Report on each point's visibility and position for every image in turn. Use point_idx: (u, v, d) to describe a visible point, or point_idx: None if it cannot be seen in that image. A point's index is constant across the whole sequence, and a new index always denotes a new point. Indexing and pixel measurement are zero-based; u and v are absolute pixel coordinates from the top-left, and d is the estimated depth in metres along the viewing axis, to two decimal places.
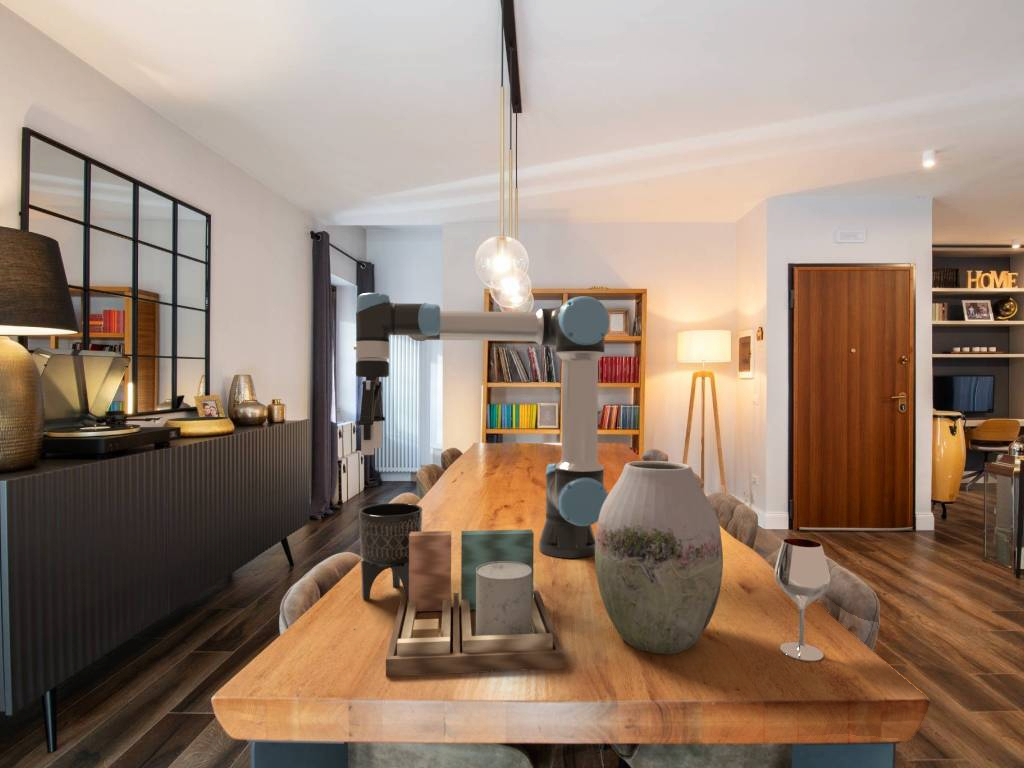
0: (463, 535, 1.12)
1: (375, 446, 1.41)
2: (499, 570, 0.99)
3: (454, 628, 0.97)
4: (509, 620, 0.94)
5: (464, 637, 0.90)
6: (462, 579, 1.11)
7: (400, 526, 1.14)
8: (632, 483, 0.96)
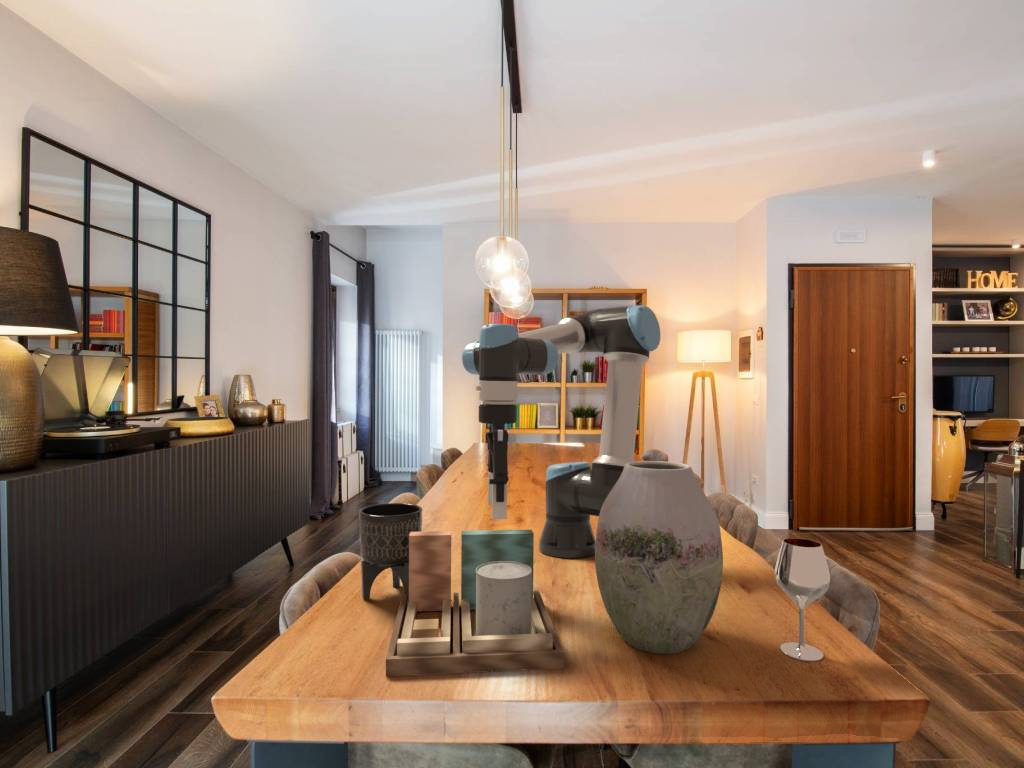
0: (463, 535, 1.12)
1: None
2: (499, 570, 0.99)
3: (454, 628, 0.97)
4: (509, 620, 0.94)
5: (464, 637, 0.90)
6: (462, 579, 1.11)
7: (400, 526, 1.14)
8: (632, 483, 0.96)
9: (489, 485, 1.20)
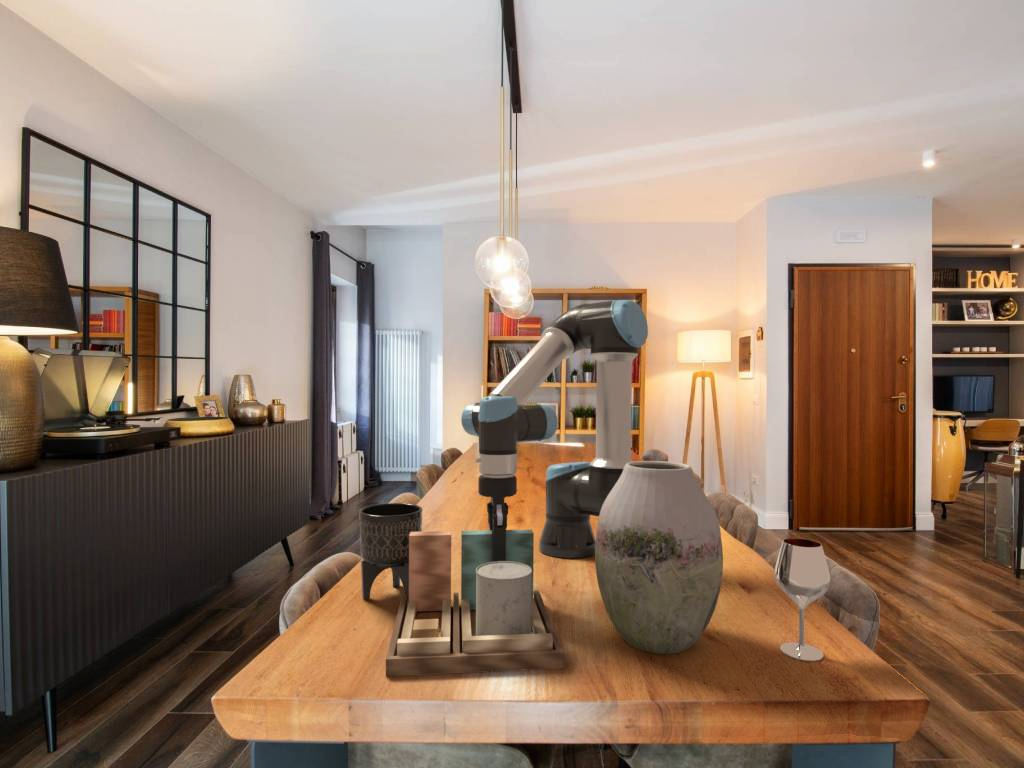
0: (463, 535, 1.12)
1: None
2: (499, 570, 0.99)
3: (454, 628, 0.97)
4: (509, 620, 0.94)
5: (464, 637, 0.90)
6: (462, 579, 1.11)
7: (400, 526, 1.14)
8: (632, 483, 0.96)
9: None
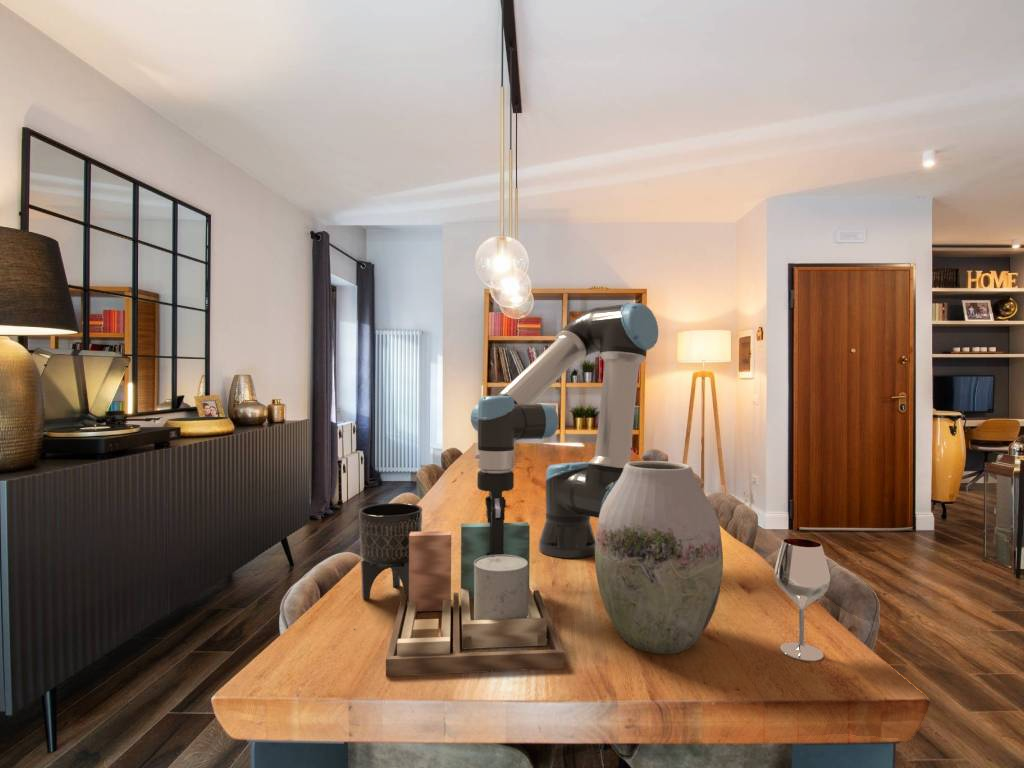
0: (463, 527, 1.18)
1: None
2: (496, 563, 1.02)
3: (454, 628, 0.97)
4: (507, 610, 0.98)
5: (463, 621, 0.96)
6: (462, 569, 1.18)
7: (400, 526, 1.14)
8: (632, 483, 0.96)
9: None
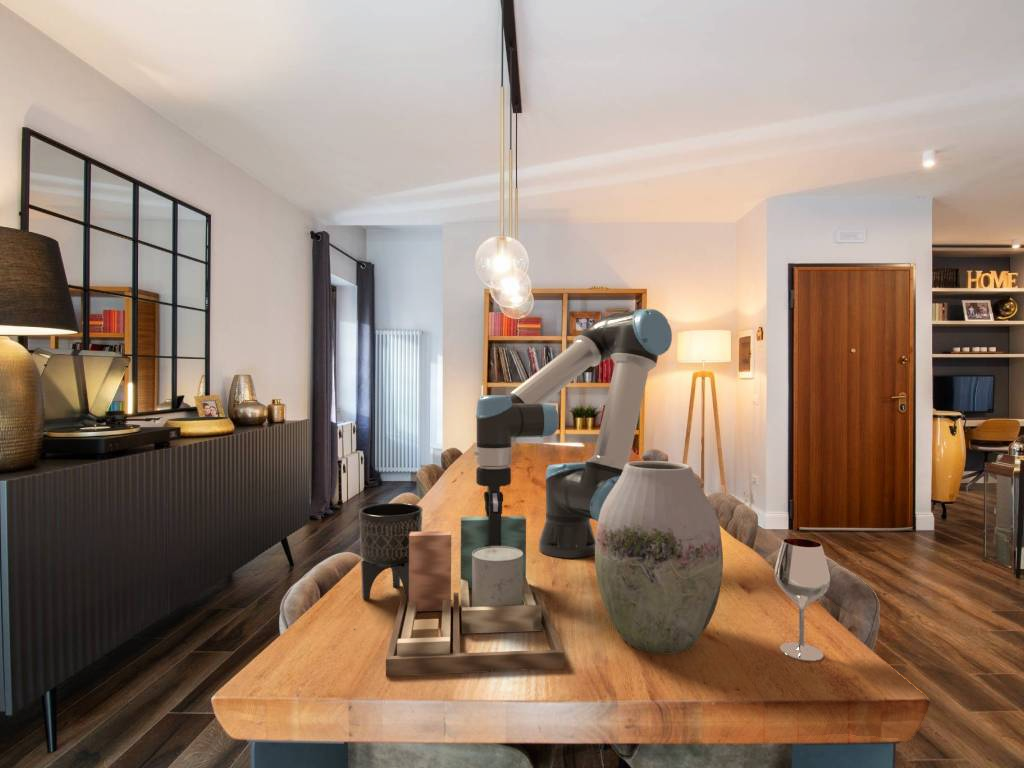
0: (462, 521, 1.23)
1: None
2: (493, 553, 1.08)
3: (454, 628, 0.97)
4: (504, 598, 1.03)
5: (463, 608, 1.02)
6: (461, 560, 1.23)
7: (400, 526, 1.14)
8: (632, 483, 0.96)
9: None
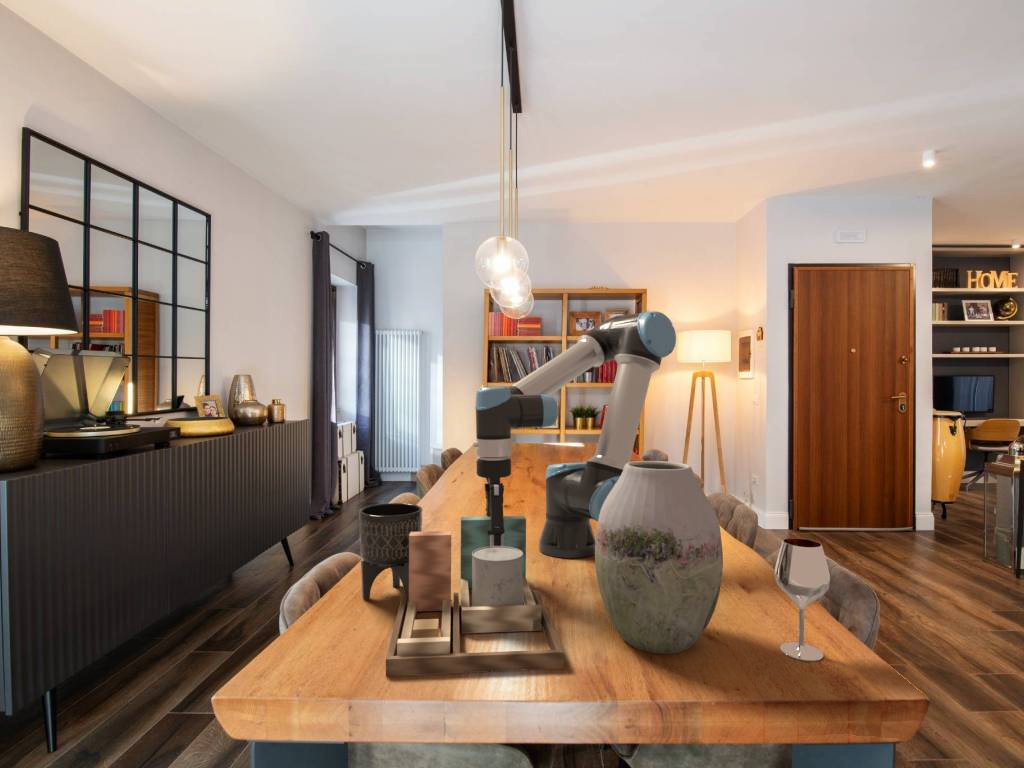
0: (462, 520, 1.24)
1: None
2: (493, 553, 1.08)
3: (454, 628, 0.97)
4: (504, 598, 1.03)
5: (463, 607, 1.02)
6: (461, 560, 1.23)
7: (400, 526, 1.14)
8: (632, 483, 0.96)
9: None
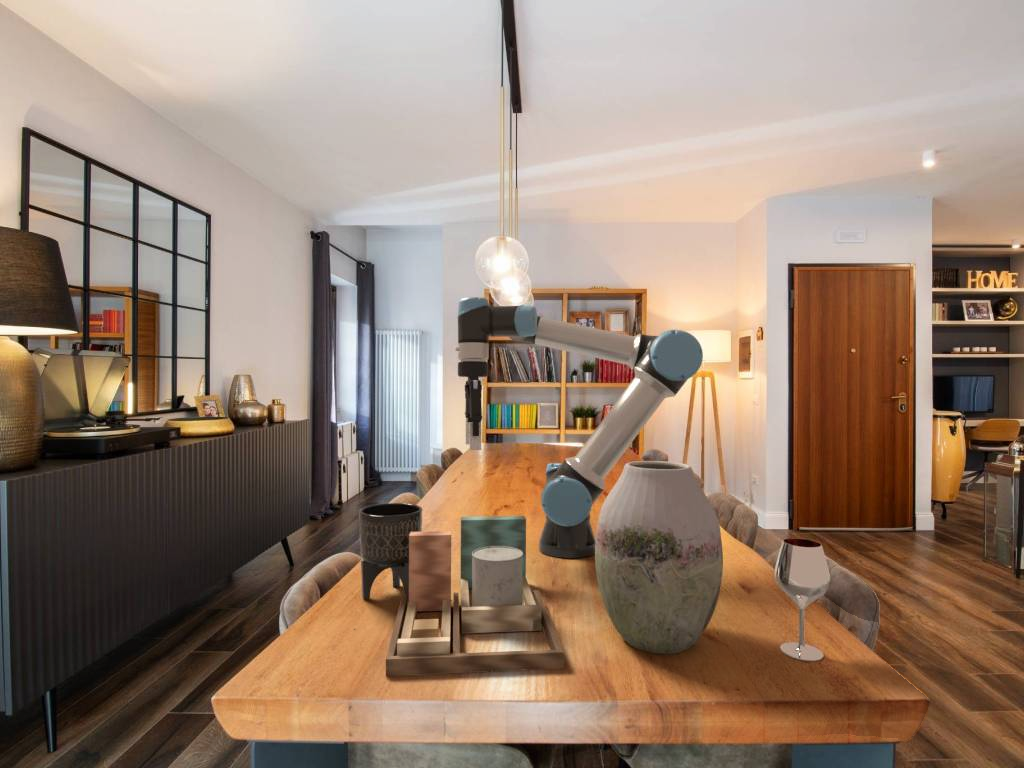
0: (462, 520, 1.24)
1: None
2: (493, 553, 1.08)
3: (454, 628, 0.97)
4: (504, 598, 1.03)
5: (463, 607, 1.02)
6: (461, 560, 1.23)
7: (400, 526, 1.14)
8: (632, 483, 0.96)
9: (466, 429, 1.49)
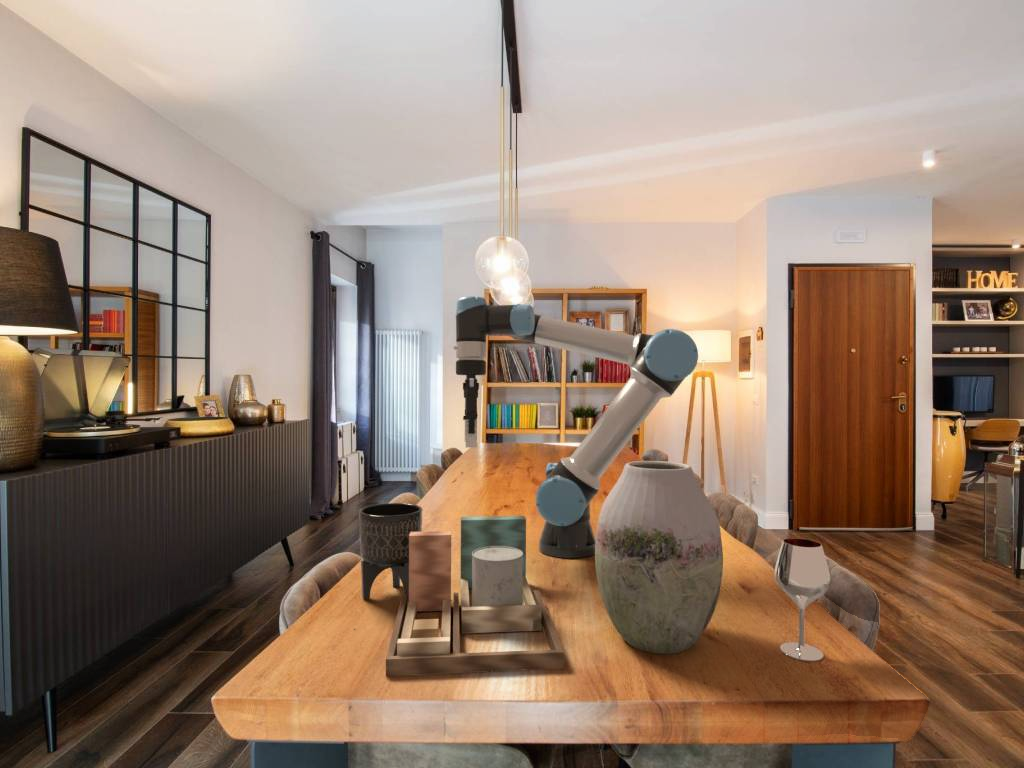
0: (462, 520, 1.24)
1: None
2: (493, 553, 1.08)
3: (454, 628, 0.97)
4: (504, 598, 1.03)
5: (463, 607, 1.02)
6: (461, 560, 1.23)
7: (400, 526, 1.14)
8: (632, 483, 0.96)
9: (465, 426, 1.51)
